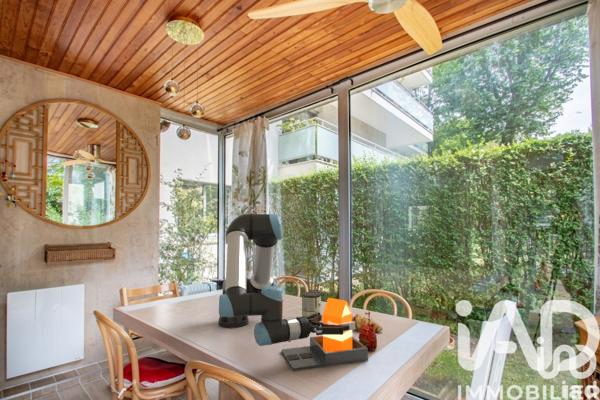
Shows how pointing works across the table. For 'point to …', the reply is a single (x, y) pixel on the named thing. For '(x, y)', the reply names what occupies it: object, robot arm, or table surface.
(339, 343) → the orange juice
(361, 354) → the tray
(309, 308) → the coffee can
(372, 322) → the croissant
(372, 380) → the table surface
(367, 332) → the red clay folk toy
